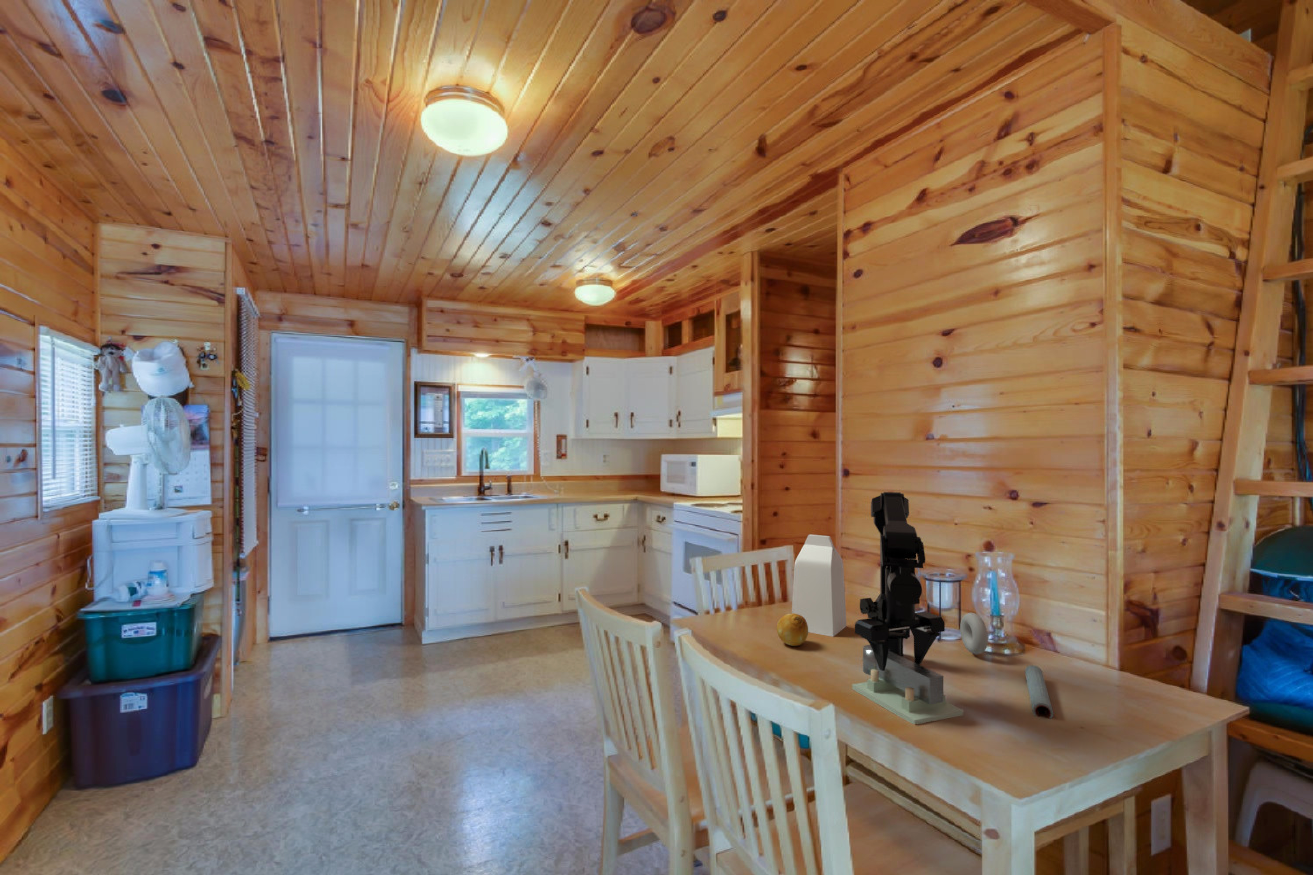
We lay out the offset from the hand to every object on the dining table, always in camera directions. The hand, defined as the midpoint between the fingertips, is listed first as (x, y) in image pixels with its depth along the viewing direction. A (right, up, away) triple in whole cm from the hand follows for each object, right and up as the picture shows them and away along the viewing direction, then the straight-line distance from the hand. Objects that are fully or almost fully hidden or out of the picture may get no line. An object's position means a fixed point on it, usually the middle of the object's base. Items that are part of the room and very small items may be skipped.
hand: (900, 667), depth 128 cm
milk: (-4, -7, +48) cm, 49 cm away
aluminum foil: (+31, -7, +1) cm, 31 cm away
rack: (+1, -6, -1) cm, 7 cm away
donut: (+29, -7, +27) cm, 40 cm away
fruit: (-15, -7, +34) cm, 37 cm away
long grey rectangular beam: (0, -3, 0) cm, 4 cm away
